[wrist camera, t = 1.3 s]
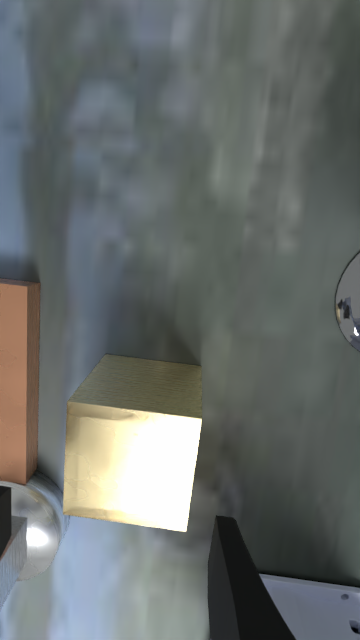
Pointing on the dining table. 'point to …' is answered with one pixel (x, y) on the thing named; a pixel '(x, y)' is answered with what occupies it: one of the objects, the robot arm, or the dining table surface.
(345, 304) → the wine glass
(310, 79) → the dining table surface
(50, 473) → the dining table surface
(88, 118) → the dining table surface
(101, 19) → the dining table surface
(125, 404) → the brushed gold cube
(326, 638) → the robot arm
